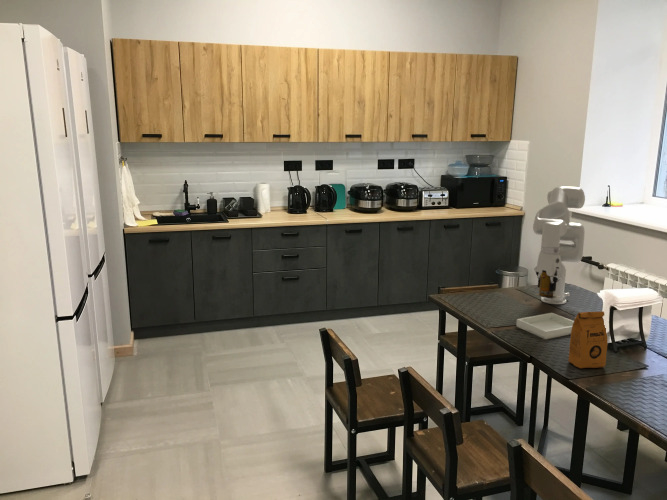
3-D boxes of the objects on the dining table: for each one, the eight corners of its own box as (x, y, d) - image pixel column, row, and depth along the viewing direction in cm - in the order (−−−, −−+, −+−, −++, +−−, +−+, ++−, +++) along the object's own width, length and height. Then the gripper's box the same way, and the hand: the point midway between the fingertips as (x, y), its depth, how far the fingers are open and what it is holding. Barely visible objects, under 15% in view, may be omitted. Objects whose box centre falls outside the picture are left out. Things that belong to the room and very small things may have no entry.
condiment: (543, 292, 260) (545, 266, 258) (560, 296, 254) (563, 270, 251) (534, 295, 256) (536, 269, 253) (552, 299, 249) (554, 273, 247)
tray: (551, 319, 273) (552, 312, 272) (582, 331, 257) (582, 324, 257) (516, 326, 264) (516, 319, 263) (545, 339, 248) (546, 331, 247)
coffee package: (608, 370, 217) (615, 315, 213) (577, 371, 216) (583, 316, 212) (595, 359, 227) (600, 307, 222) (565, 360, 226) (570, 307, 221)
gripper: (571, 253, 245) (567, 293, 249) (541, 245, 260) (538, 283, 264) (558, 254, 242) (555, 295, 246) (529, 247, 257) (526, 285, 261)
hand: (546, 288), depth 255 cm, fingers closed on condiment, 6 cm apart
